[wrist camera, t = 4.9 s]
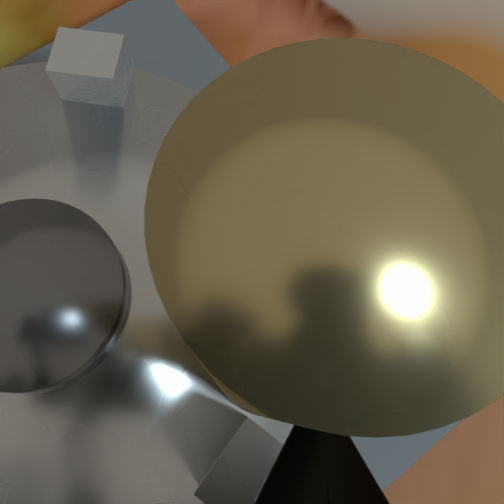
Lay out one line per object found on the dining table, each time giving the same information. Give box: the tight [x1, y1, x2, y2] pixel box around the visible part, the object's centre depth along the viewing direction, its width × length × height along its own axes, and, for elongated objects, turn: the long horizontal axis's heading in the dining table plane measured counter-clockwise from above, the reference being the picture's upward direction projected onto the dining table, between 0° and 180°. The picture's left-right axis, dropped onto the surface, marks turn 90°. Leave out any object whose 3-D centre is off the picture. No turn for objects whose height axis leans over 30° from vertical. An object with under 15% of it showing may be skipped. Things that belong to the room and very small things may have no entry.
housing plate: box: [5, 0, 463, 491], centre depth 16 cm, size 20×20×2 cm
